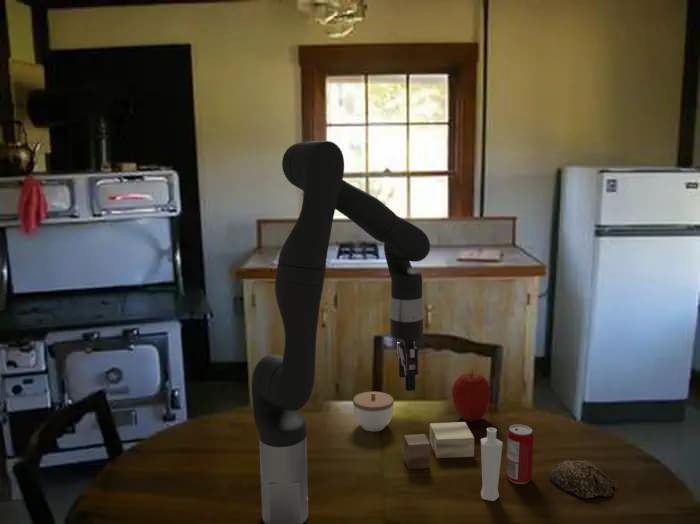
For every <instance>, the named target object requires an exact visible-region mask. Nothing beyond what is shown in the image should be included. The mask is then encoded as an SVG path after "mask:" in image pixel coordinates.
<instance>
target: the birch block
mask: <svg viewBox="0 0 700 524" xmlns="http://www.w3.org/2000/svg"><path fill="white" fill-rule="evenodd" d="M429 443H430V446H431V448H432V450H433V453H434V455H435V457H436V459H445V458H447V459H448V458H468V457H469V458H471V457H475V437H474V434H473V433H472V431H471V430H470V428H469V426H468V424H467V421H459V422H458V421H457V422H454V421H453V422H452V421H451V422H436V423H435V422H433V423H432V422H431V423H429Z"/></svg>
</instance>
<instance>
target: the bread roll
mask: <svg viewBox="0 0 700 524" xmlns="http://www.w3.org/2000/svg"><path fill="white" fill-rule="evenodd" d="M548 476H549V480H551V481H552V482H553V484H554V485H555V486H558V487H559V488H560V489H562V490H563V491H564V492H566V493H567V492H568V493H570V494H573V495H575V496H577V497H578V498H582V499H593V498H597V497H598V496H600V497H605V498H609V497H612V496H613V494H614V493H613V492H614V491H613V487H614V486H615V485H614V484H615V482H614V480H612V479H611V478H610V476H609V475H607V474H605V472H603V471H602V470H600V469H599V468H597V466H595V465H594V464H593V463H592V462H589V461H588V460H565V461H563V462H561V463H558V464H556V465H555V466H554V467H552V468H551V469H550V471H549V473H548Z"/></svg>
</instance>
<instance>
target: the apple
mask: <svg viewBox="0 0 700 524" xmlns="http://www.w3.org/2000/svg"><path fill="white" fill-rule="evenodd" d="M473 372H474V371H473V370H472V371H471V373H469V372H468V373H464V374H461V375H460V376H459V377H458V378H456V380H455V381H454V383H453V385H452V387H451V391H452V392H451V393H452V401H453V405H454V407H455V409H456V412H457V414H458V415H459V417H461V418H462V419H463V420H464V421H465V422H472V423H473V422H478V421H479V420H481V419H482V418H483V417H484V416H485V415H486V413H487V411H488V408H489V406H490V403H491V397H492V391H491V387H490V384H489V381H488V380H487V378H486V377H485V376H484V375H482V374H478V373H473Z"/></svg>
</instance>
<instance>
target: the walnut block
mask: <svg viewBox="0 0 700 524" xmlns="http://www.w3.org/2000/svg"><path fill="white" fill-rule="evenodd" d="M430 456H431V443H430V440H429V439H428V437H427V435H426V434H425V433H421V434H404V435H403V460H404V462H405V464H406V468H407V469H408V470H413V469H415V470H416V469H417V470H418V469H428V468H430V467H431V466H430V464H431V463H430V461H431V460H430V459H431V457H430Z"/></svg>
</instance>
